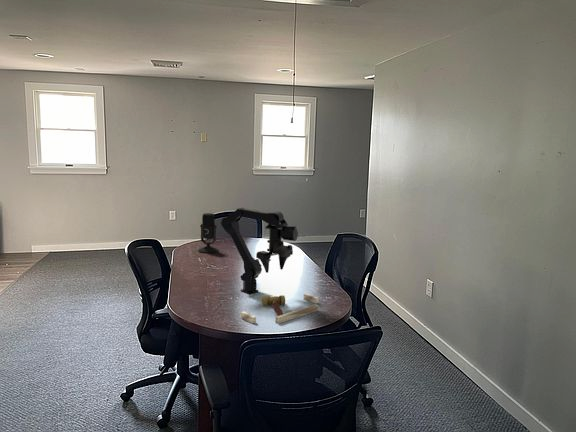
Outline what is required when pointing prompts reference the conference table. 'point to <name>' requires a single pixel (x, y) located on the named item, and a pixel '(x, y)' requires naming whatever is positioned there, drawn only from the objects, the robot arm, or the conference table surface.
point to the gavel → (274, 303)
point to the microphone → (208, 233)
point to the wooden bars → (289, 315)
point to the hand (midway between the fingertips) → (274, 270)
